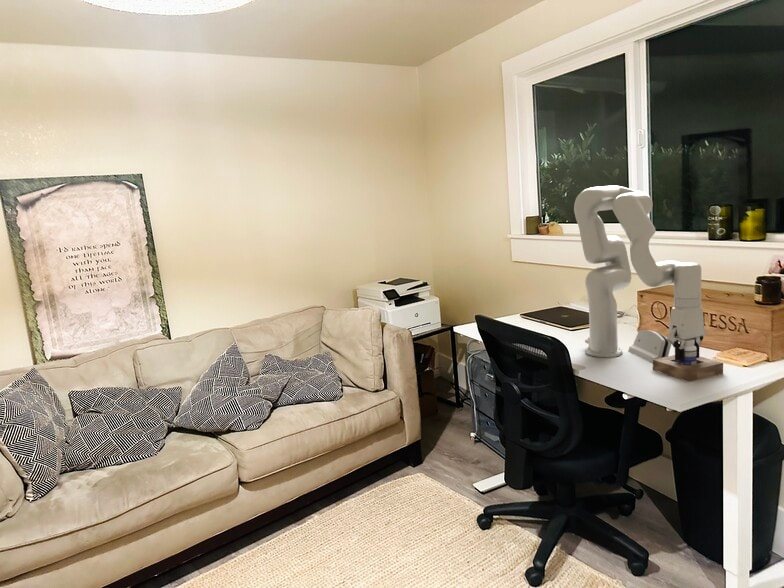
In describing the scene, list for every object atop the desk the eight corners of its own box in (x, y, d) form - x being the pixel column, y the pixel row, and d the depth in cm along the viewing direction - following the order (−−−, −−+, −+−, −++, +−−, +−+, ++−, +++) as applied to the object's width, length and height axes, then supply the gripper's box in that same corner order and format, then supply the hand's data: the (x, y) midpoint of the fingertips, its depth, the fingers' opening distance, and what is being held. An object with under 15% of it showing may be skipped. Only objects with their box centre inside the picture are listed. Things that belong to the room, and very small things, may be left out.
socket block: (652, 369, 183) (652, 359, 183) (686, 362, 188) (686, 352, 187) (688, 381, 170) (688, 370, 170) (723, 373, 175) (723, 362, 174)
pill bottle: (675, 363, 182) (675, 337, 180) (693, 363, 181) (693, 336, 179) (681, 369, 177) (681, 341, 175) (699, 368, 176) (699, 341, 174)
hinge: (627, 350, 206) (636, 324, 205) (639, 353, 207) (647, 328, 206) (653, 363, 190) (662, 335, 189) (665, 366, 190) (675, 338, 189)
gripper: (698, 297, 182) (697, 351, 185) (656, 304, 176) (656, 360, 179) (718, 300, 175) (717, 356, 178) (675, 308, 169) (675, 366, 172)
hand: (687, 358), depth 178 cm, fingers closed on pill bottle, 5 cm apart
